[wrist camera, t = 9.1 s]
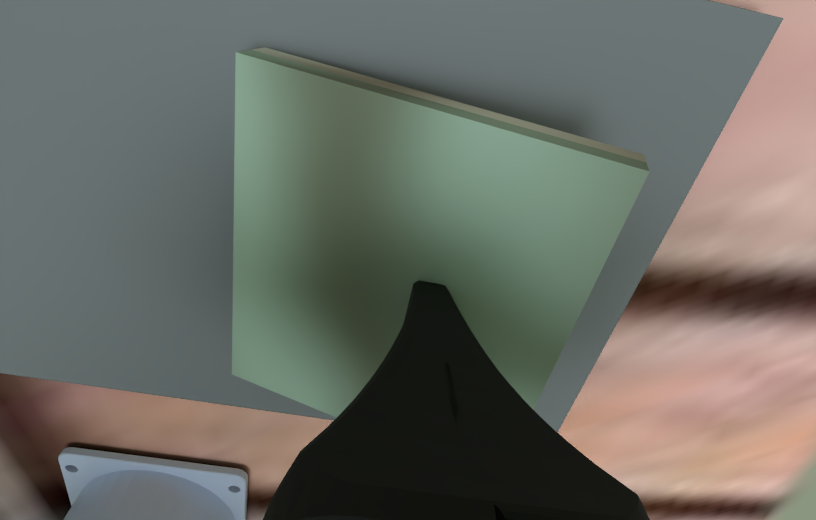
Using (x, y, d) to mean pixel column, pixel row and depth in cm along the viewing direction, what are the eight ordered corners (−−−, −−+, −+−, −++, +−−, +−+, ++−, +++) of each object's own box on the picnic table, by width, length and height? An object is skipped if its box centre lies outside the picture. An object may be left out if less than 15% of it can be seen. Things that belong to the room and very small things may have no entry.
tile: (235, 52, 11) (265, 47, 12) (231, 374, 16) (252, 351, 17) (650, 171, 9) (643, 154, 10) (497, 484, 15) (502, 452, 16)
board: (541, 429, 21) (547, 450, 20) (-14, 349, 19) (-35, 368, 18) (758, 13, 12) (783, 18, 11) (-208, -218, 10) (-265, -233, 9)
